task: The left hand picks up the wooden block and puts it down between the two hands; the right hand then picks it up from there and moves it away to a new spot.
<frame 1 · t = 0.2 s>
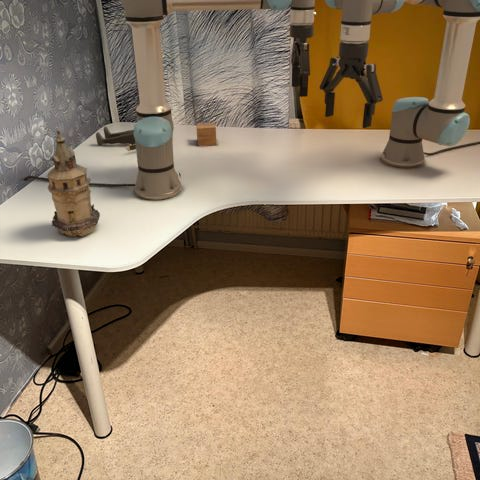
left hand: (299, 91, 180), 28 cm above the table, tool pointing down, fingers open, 13 cm apart
right hand: (347, 121, 150), 28 cm above the table, tool pointing down, fingers open, 13 cm apart
miniature building: (78, 229, 156), on the table
block: (206, 143, 220), on the table
toy: (136, 144, 219), on the table
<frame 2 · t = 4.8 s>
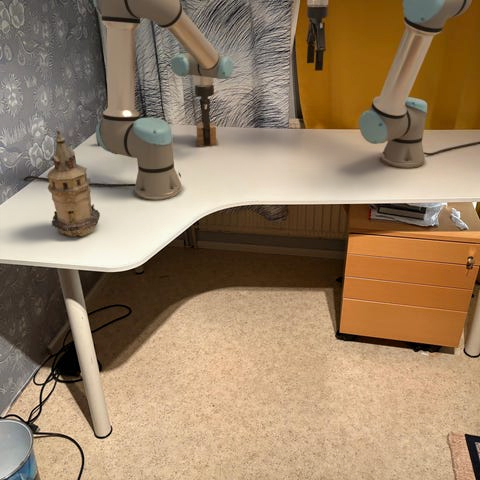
left hand: (206, 141, 219), 1 cm above the table, tool pointing down, fingers closed on block, 7 cm apart
right hand: (314, 66, 203), 30 cm above the table, tool pointing down, fingers open, 13 cm apart
block: (206, 143, 220), on the table, touching left hand
everything else where it was.
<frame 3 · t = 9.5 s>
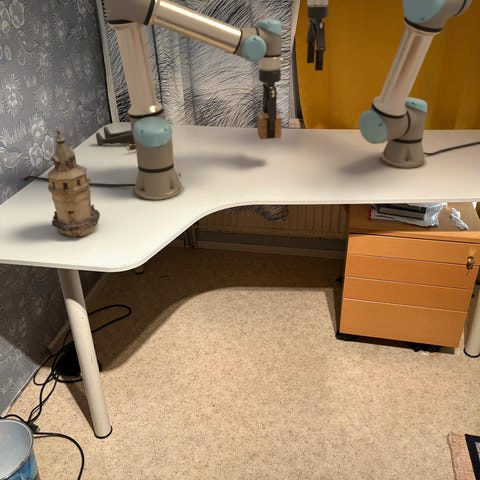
left hand: (269, 134, 193), 11 cm above the table, tool pointing down, fingers closed on block, 7 cm apart
right hand: (314, 66, 203), 30 cm above the table, tool pointing down, fingers open, 13 cm apart
block: (269, 136, 193), point 11 cm above the table, touching left hand
everything else where it was.
when the left hand's fingers open (2 cm above the table, at t = 14.3 s): block drops 1 cm, on the table.
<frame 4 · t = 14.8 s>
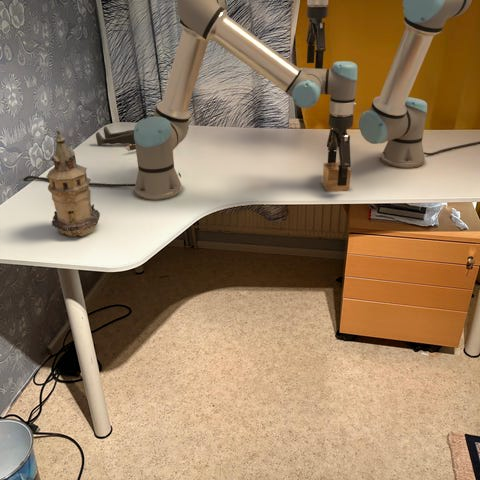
left hand: (336, 177, 178), 3 cm above the table, tool pointing down, fingers open, 13 cm apart
right hand: (314, 66, 203), 30 cm above the table, tool pointing down, fingers open, 13 cm apart
block: (335, 186, 179), on the table
everything else where it was.
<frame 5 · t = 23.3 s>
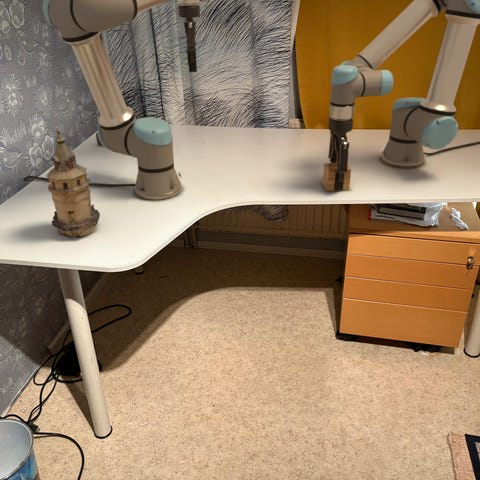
left hand: (192, 67, 195), 32 cm above the table, tool pointing down, fingers open, 13 cm apart
right hand: (335, 185, 179), 1 cm above the table, tool pointing down, fingers closed on block, 7 cm apart
block: (335, 186, 179), on the table, touching right hand
everything else where it was.
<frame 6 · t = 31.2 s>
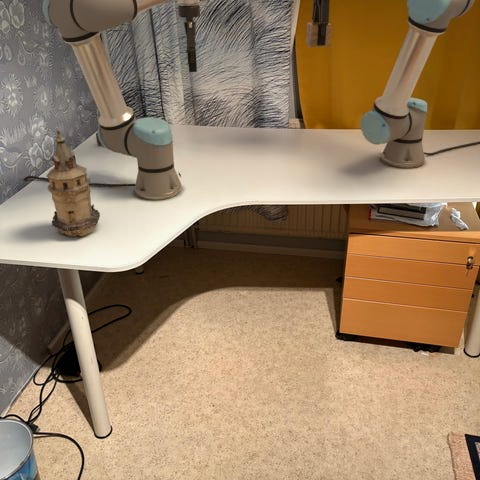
left hand: (192, 67, 195), 32 cm above the table, tool pointing down, fingers open, 13 cm apart
right hand: (318, 43, 195), 39 cm above the table, tool pointing down, fingers closed on block, 7 cm apart
block: (318, 45, 196), point 39 cm above the table, touching right hand
everything else where it was.
when the right hand's fingers open (2 cm above the table, at t = 39.0 s): block drops 1 cm, on the table.
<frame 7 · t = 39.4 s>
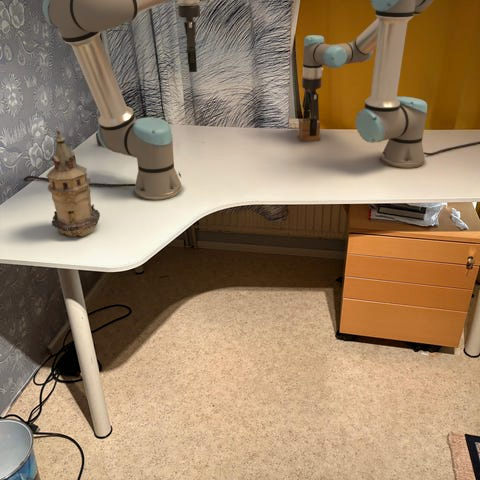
left hand: (192, 67, 195), 32 cm above the table, tool pointing down, fingers open, 13 cm apart
right hand: (309, 130, 222), 3 cm above the table, tool pointing down, fingers open, 12 cm apart
block: (308, 138, 223), on the table
everything else where it was.
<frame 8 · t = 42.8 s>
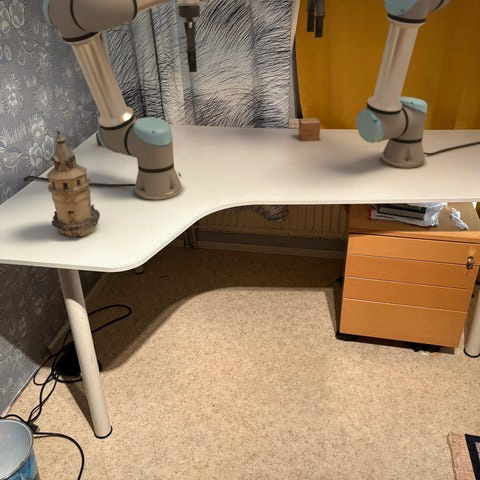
left hand: (192, 67, 195), 32 cm above the table, tool pointing down, fingers open, 13 cm apart
right hand: (314, 34, 203), 41 cm above the table, tool pointing down, fingers open, 13 cm apart
nothing on the table moved.
at the end: block inside the target area (0.1 cm from its centre), on the table; block tilted 0°; the two hands never held the block at the same time; the left hand is holding nothing; the right hand is holding nothing; block at rest at the end (0.0 cm/s) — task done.
